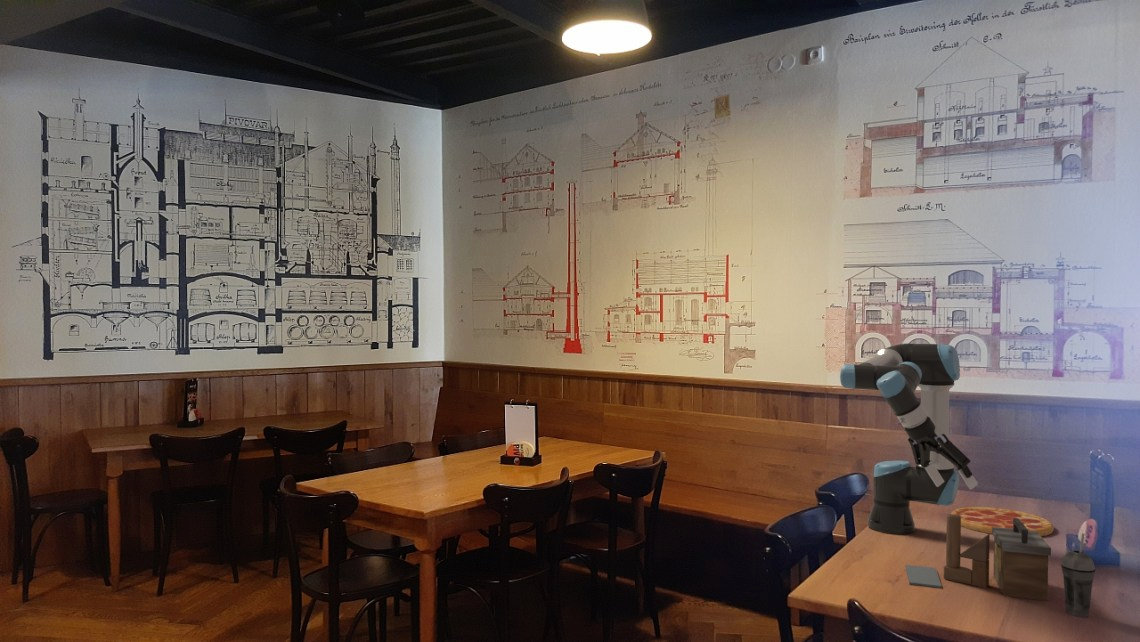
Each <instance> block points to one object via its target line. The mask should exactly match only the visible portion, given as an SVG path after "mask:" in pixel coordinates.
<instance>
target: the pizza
mask: <svg viewBox="0 0 1140 642" xmlns="http://www.w3.org/2000/svg"><path fill="white" fill-rule="evenodd" d="M950 514H955V515H959V516H960V517H961V528H966V529H968V530H971V531H974V532H980V533H983V534H987V535H988V534H990V535H992V527H999V528H1010V529H1013V518H1018V519H1019V520H1020V521H1021V522H1022V523H1023V524H1024V526H1025V527H1026V528H1027V529H1028V530H1031V531H1037V532H1038V534H1039V535H1040V536H1041V537H1042V538H1043V537H1046V536H1049V535H1051V534H1053V532H1054V528H1055V526H1054V525H1053V523H1052V522H1051V521H1049V520H1048V519H1046V518H1044V517H1042V516H1038V515H1036V514H1032V513H1029V512H1025V511H1024V512H1023V511H1018V510H1013V509H1007V508H998V507H988V506H987V507H986V506H969V507H960V508H956V509H954V510H952V511H951V513H950Z"/></svg>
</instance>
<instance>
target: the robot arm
mask: <svg viewBox="0 0 1140 642" xmlns="http://www.w3.org/2000/svg"><path fill="white" fill-rule="evenodd" d="M959 359H960V358H959V355H958V352H957V349H956V347H954V346H953V345H950V344H941V343H899V344H895V345H891V346H888V347H884V348H883V349H880V350H879V351H877V352H876V353H875V355H874V356H873V357H871V358H869V359H867V360H865V361H863V362H861V363H859V364H858V363H857V364H855V363H848V364H846V363H844V364H843V365H842V367H841V369H840V375H839V378H840V379H839V380H840V384H841V386H842V388H844V389H850V390H851V389H852V390H867V391H869V390H871V391H879V393H880V395H881V396H882V397H883V399H884V400H885V402H886V403H887V404H888V406H889V408H890V410H892V412H893V413H894V415H895V416H896V418H897V419H898V422H899V423H900V425H901V426H902V427H903V428H904V431H905V433H906V434H907V435H908V438H907V442H908V443H909V444H910V447H911V452H912V455H913V458H914V462H915V466H912V463H910V461H908V460H886V461H879V462H877V463H876V464H875V465H874V467H873V475H872V477H873V504H872V507H871V510H870V512H869V516H868V519H867V527H868V528H870V529H871V530H875V531H877V532H882V533H887V534H896V535H897V534H898V535H901V534H902V535H905V534H907V535H908V534H912V533H914V532H915V531H916V524H915V521H914V518H913V515H912V511H911V508H910V507H911V506H910V502H915V503H923V504H930V505H934V506H935V505H936V506H944V507H947V506H949V507H950V506H952V505H953V504H954V503H955V501H956V499H957V495H958V490H959V485H960V476H961V478H962V479H963V482H964V483H965V484H966V486H967V488H968V489H969V490H973V489H974V488H976V487H977V486H978V485H979V482H978V481H977V480H976V477H974V475H973V472H972V471H971V469H970V467H968V464H970V463H971V459H970V458H969V457H967V455H965V454H964V453H963V452H962V451H961V450H960V448H958V447H957V446H956V445H955V444H953V442H952V441H951V440H950V390H951V388H953V387H954V386H955V381H958V380H959V379H960V378H961V377H960V376H961V366H960V360H959ZM918 387H919V389H920V401H919V399H918V397H917V396H916V394H915V392H916V389H917V388H918ZM955 467H957V468H956V470H957V471H956V470H955Z"/></svg>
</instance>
